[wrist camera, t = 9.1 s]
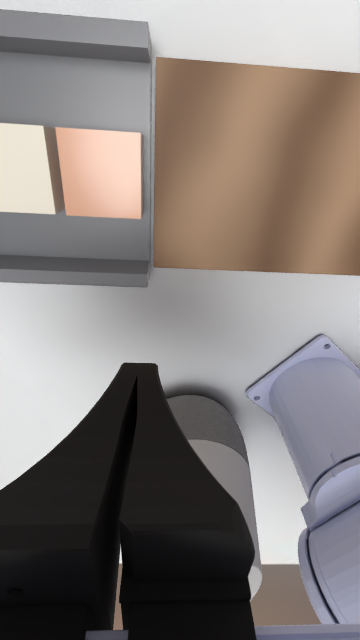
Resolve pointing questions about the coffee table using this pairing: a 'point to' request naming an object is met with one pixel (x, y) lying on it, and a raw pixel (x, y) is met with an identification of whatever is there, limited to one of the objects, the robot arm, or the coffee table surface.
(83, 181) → the terracotta tile
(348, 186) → the brown wooden board
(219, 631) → the robot arm
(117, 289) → the coffee table surface
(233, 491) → the smart speaker
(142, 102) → the tray
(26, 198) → the cream tile
